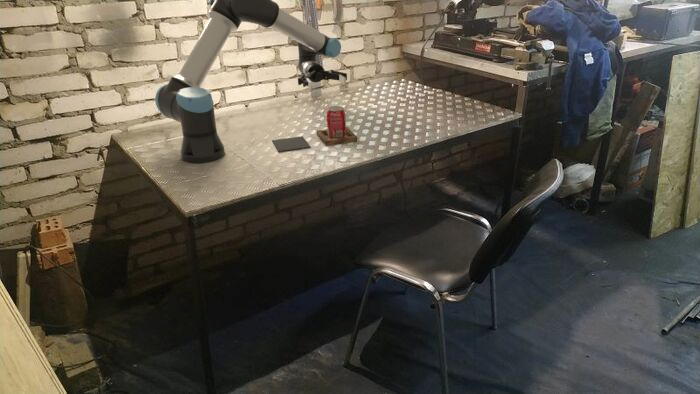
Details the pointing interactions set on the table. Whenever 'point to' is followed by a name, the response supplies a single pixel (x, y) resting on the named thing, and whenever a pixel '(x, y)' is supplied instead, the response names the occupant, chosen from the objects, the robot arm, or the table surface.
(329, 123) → the soda can
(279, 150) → the mat
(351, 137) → the holder
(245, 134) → the table surface
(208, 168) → the table surface
